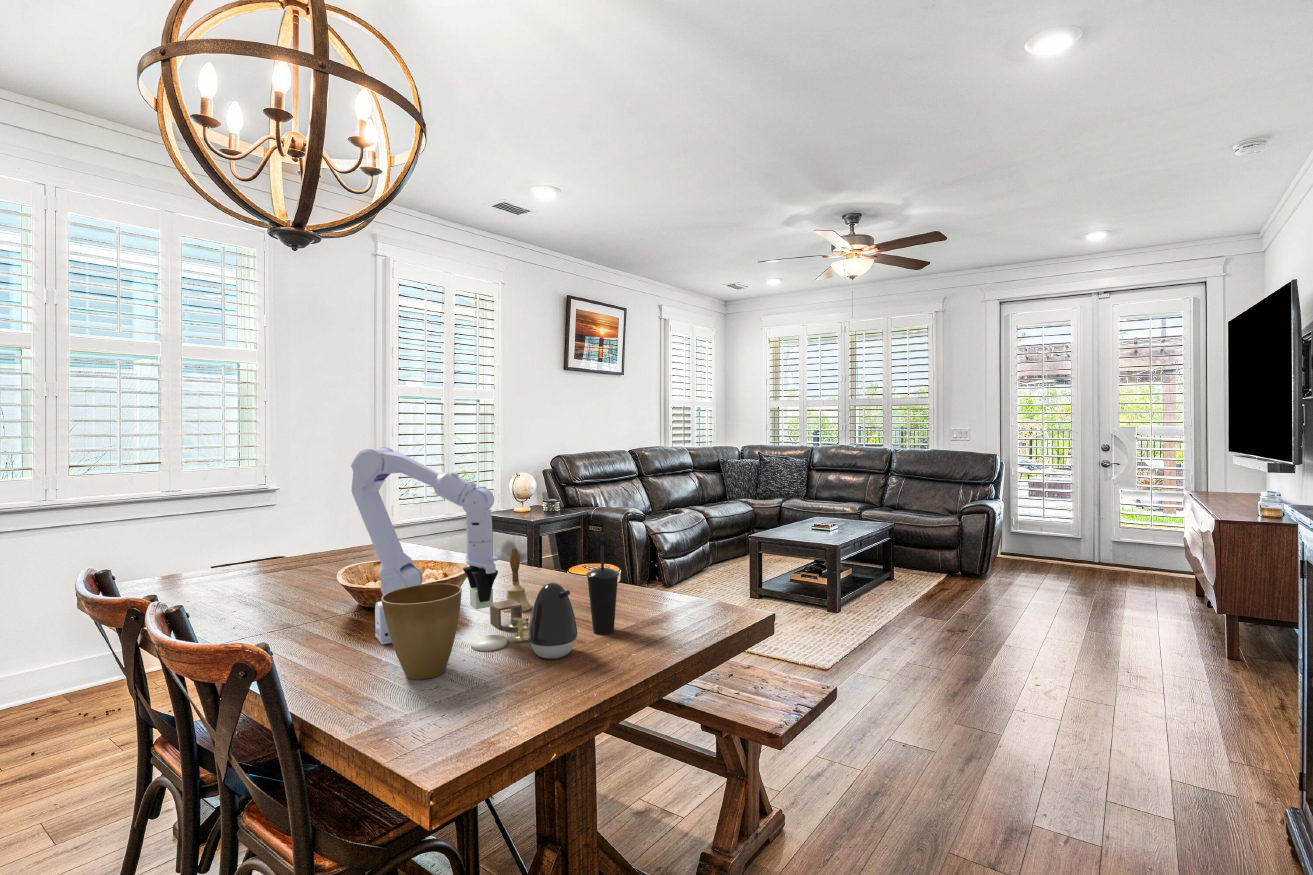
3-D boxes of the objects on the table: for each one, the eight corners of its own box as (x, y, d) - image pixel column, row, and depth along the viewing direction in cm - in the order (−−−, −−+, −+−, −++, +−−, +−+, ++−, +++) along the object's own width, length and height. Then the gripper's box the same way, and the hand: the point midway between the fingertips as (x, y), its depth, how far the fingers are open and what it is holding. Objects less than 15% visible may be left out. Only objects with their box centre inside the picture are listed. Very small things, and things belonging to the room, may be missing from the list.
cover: (499, 629, 155) (498, 608, 155) (490, 623, 160) (489, 603, 159) (522, 625, 158) (521, 604, 158) (512, 619, 163) (512, 599, 163)
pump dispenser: (551, 667, 130) (549, 591, 130) (518, 655, 137) (517, 584, 137) (588, 653, 138) (587, 581, 138) (556, 642, 145) (554, 574, 144)
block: (476, 609, 148) (475, 591, 148) (470, 605, 151) (469, 588, 151) (493, 606, 150) (492, 588, 150) (487, 602, 154) (486, 585, 154)
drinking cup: (615, 637, 148) (613, 549, 147) (582, 635, 149) (581, 548, 149) (623, 626, 155) (622, 543, 155) (592, 625, 157) (591, 542, 156)
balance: (522, 648, 142) (522, 621, 142) (504, 635, 151) (503, 610, 151) (538, 644, 144) (537, 618, 144) (519, 632, 153) (518, 607, 153)
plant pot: (437, 654, 139) (435, 579, 139) (478, 669, 130) (477, 590, 129) (368, 675, 128) (366, 594, 127) (409, 695, 118) (407, 607, 118)
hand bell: (514, 614, 167) (513, 552, 167) (493, 609, 172) (492, 549, 172) (539, 606, 174) (537, 547, 173) (518, 602, 179) (517, 544, 178)
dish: (478, 653, 139) (477, 648, 139) (466, 643, 145) (466, 639, 145) (512, 646, 143) (511, 641, 143) (499, 637, 149) (499, 632, 149)
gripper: (508, 542, 147) (509, 602, 147) (485, 534, 159) (486, 589, 159) (477, 546, 143) (478, 608, 143) (456, 537, 155) (458, 594, 155)
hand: (481, 599), depth 151 cm, fingers closed on block, 4 cm apart
